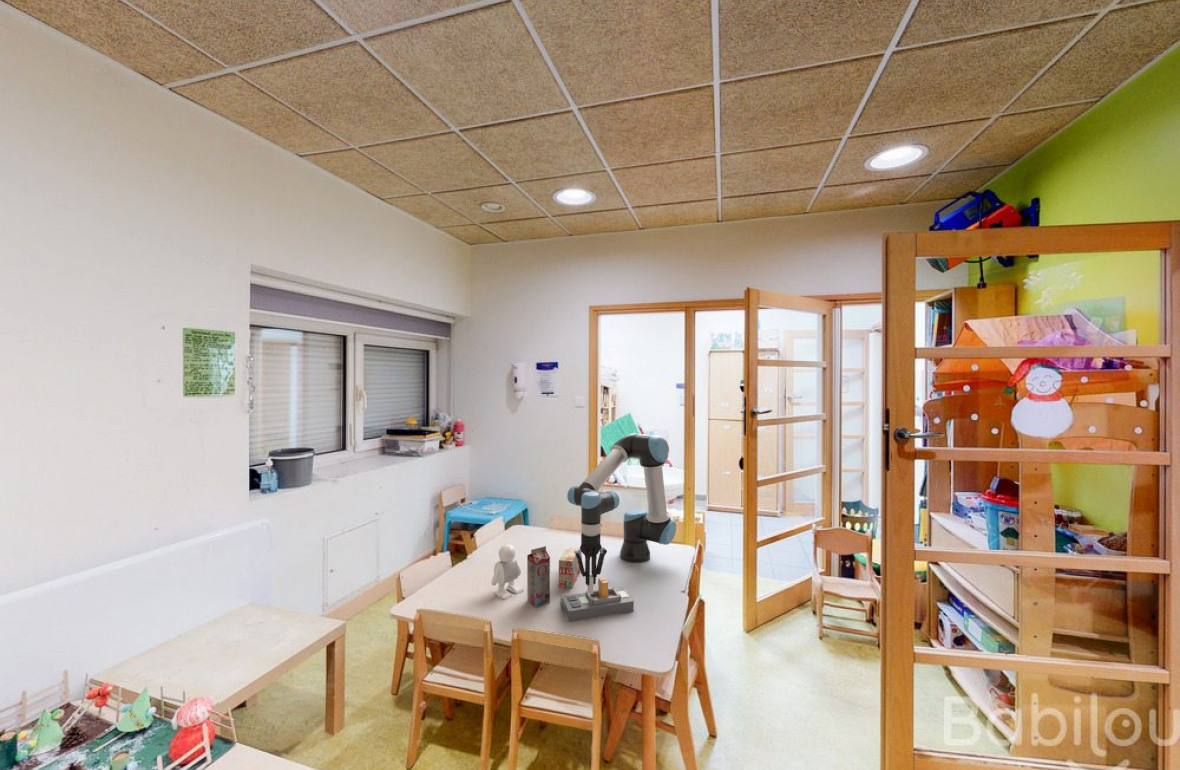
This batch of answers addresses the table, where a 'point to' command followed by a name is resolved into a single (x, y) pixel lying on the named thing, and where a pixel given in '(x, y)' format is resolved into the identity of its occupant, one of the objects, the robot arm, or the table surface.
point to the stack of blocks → (568, 568)
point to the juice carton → (538, 577)
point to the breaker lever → (602, 587)
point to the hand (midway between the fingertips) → (590, 592)
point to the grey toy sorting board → (596, 604)
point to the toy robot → (506, 572)
